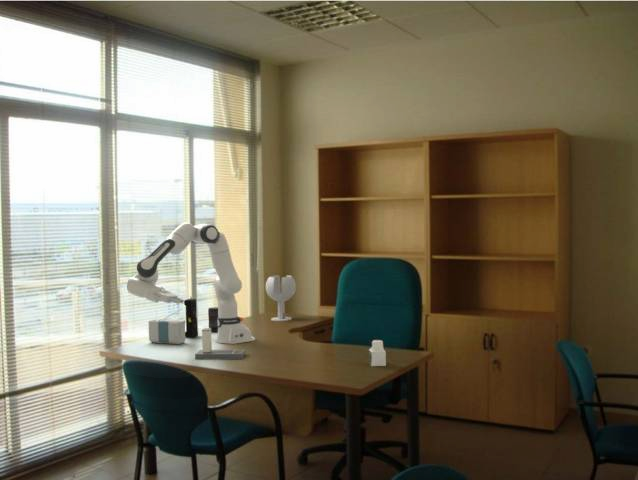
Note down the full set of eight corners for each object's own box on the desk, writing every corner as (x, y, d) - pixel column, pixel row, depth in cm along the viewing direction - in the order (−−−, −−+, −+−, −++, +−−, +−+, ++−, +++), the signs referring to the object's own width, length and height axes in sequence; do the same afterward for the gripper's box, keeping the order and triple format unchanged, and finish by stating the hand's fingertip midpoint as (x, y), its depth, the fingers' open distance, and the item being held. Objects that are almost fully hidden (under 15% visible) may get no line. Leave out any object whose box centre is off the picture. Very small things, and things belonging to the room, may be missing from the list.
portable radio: (193, 338, 407) (192, 296, 405) (184, 338, 408) (183, 296, 407) (198, 335, 414) (197, 294, 413) (189, 335, 415) (188, 294, 414)
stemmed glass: (263, 321, 462) (262, 277, 461) (270, 317, 482) (269, 274, 481) (292, 322, 459) (291, 277, 457) (298, 317, 479) (297, 274, 477)
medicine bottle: (368, 363, 333) (368, 338, 333) (383, 362, 334) (383, 338, 333) (371, 366, 326) (371, 341, 326) (386, 365, 327) (385, 341, 326)
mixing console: (195, 359, 349) (195, 354, 349) (200, 354, 360) (200, 349, 360) (241, 359, 347) (241, 353, 347) (245, 354, 358) (245, 349, 358)
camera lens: (223, 330, 430) (223, 307, 430) (217, 332, 423) (217, 308, 422) (212, 330, 433) (211, 306, 432) (206, 332, 425) (205, 308, 425)
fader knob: (202, 352, 351) (201, 329, 351) (204, 350, 357) (204, 328, 356) (209, 352, 351) (209, 329, 351) (211, 350, 356) (211, 328, 356)
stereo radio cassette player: (148, 343, 394) (147, 308, 393) (156, 340, 401) (156, 306, 400) (179, 345, 386) (178, 310, 385) (187, 342, 394) (186, 308, 393)
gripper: (153, 288, 348) (179, 296, 348) (163, 287, 369) (187, 295, 368) (149, 300, 348) (175, 308, 347) (159, 299, 368) (183, 307, 368)
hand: (181, 302), depth 358 cm, fingers open, 8 cm apart
